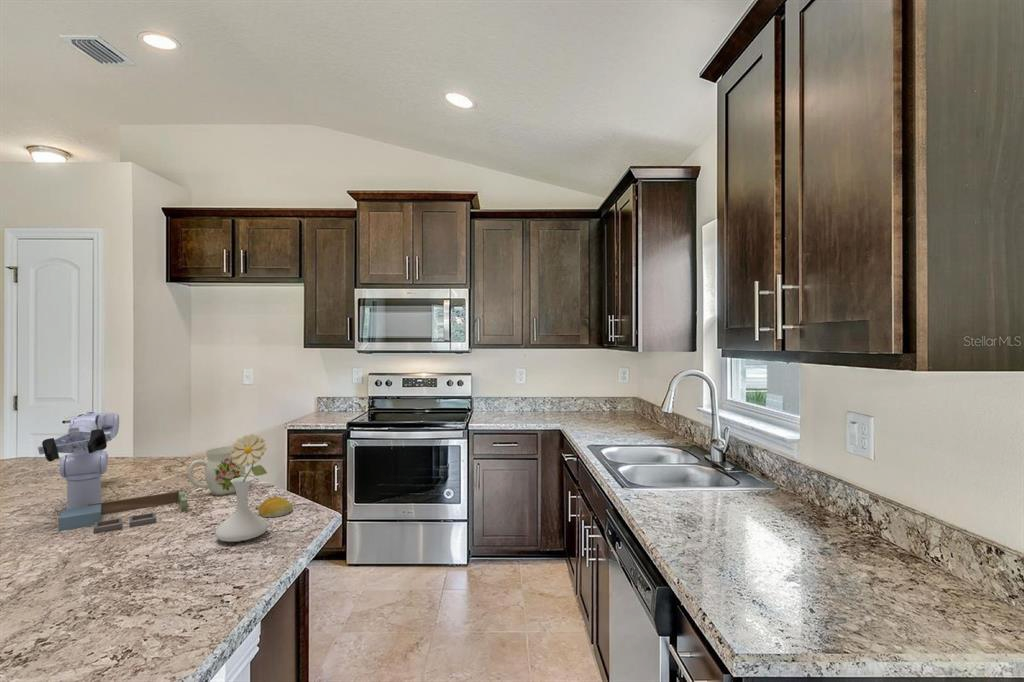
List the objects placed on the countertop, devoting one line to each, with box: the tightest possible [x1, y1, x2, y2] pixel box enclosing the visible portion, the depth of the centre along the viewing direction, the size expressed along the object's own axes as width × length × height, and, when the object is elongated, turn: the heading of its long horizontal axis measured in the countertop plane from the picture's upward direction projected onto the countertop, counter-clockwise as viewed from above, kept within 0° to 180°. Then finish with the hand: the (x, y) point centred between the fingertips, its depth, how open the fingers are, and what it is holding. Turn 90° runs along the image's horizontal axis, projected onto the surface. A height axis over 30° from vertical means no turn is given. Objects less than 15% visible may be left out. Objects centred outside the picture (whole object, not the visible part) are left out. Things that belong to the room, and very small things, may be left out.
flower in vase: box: [214, 433, 270, 543], centre depth 122 cm, size 13×11×25 cm
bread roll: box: [257, 496, 294, 518], centre depth 139 cm, size 8×9×4 cm
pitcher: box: [187, 445, 246, 496], centre depth 158 cm, size 11×18×14 cm, turn 131°
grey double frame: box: [93, 512, 157, 535], centre depth 130 cm, size 6×12×1 cm, turn 127°
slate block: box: [58, 504, 102, 532], centre depth 131 cm, size 8×8×4 cm
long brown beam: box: [87, 490, 188, 516], centre depth 139 cm, size 12×22×3 cm, turn 127°
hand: (70, 453), depth 125 cm, fingers open, 7 cm apart
